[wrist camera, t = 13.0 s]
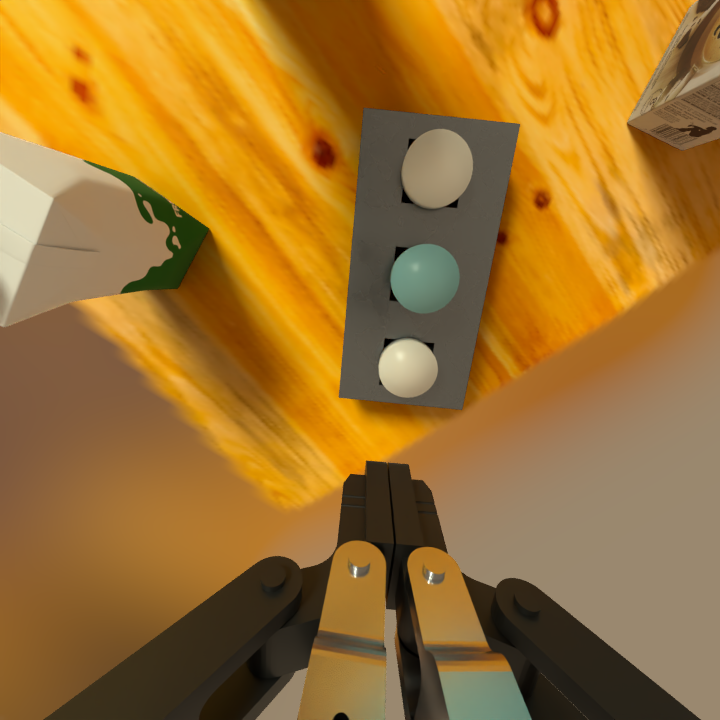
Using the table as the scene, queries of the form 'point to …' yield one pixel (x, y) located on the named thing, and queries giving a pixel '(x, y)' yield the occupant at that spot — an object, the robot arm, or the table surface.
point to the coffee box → (686, 83)
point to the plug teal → (424, 278)
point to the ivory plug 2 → (407, 367)
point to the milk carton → (82, 232)
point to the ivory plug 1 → (436, 169)
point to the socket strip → (415, 227)
